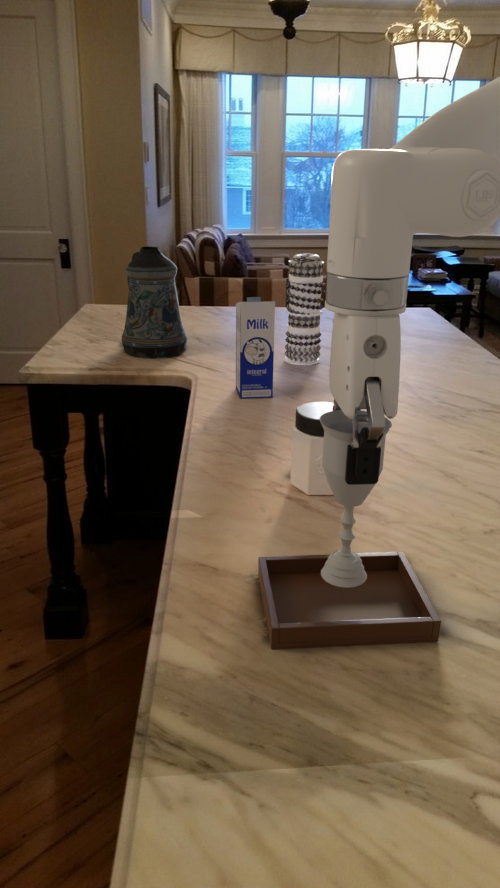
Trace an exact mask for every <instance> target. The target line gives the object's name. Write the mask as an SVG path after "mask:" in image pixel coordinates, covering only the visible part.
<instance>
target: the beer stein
mask: <svg viewBox="0 0 500 888" xmlns="http://www.w3.org/2000/svg"><path fill="white" fill-rule="evenodd" d="M125 271H126V275H127V277H126V279H127V286H128V287H127V288H128V294H127V303H126V315H125V323H124V328H123V332H122V334H121V343H122V348H123V351H124V354H126V355H128V356H131V357H133V356H135V357H134V358H139V357H142V358H141V359H165V358H164V357H168V358H172V357H171V356H173V357H177V356H181V355H182V354H183V353H185V352H186V351H187V343H188V339H189V337H188V334H187V332H186V329H185V326H184V323H183V320H182V315H181V314H182V313H181V310H180V303H179V298H178V291H177V286H176V276H177V274H178V267H177V265H176V264H175V262H173V261H172V260H171V259H170V258H168V257H167V256H166V255H165V254H163V252H161V251H160V247H158V246H141V247H140V250H139V251H136V252H134V253H132V255H131V261H130V262H129V263H128V265H127V266H126V268H125ZM176 355H177V356H176Z"/></svg>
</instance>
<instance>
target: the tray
mask: <svg viewBox="0 0 500 888" xmlns="http://www.w3.org/2000/svg"><path fill="white" fill-rule="evenodd" d="M355 553H356V552H355ZM331 554H332V553H330V554H329V553H328V554H304V555H303V554H302V555H301V554H300V555H275V556H272V555H271V556H258V561H257V562H258V564H257V577H258V582H259V588H260V593H261V599H262V605H263V610H264V611H263V612H264V616H265V622H266V628H267V633H268V639H269V640H268V641H269V644H270V645H269V646H270V649H271V650H278V649H279V650H280V649H300V648H303V649H304V648H321V647H322V648H323V647H341V646H342V647H343V646H344V647H345V646H347V647H348V646H363V645H364V646H366V645H386V644H387V645H388V644H406V643H408V644H411V643H429V642H439V638H440V632H441V625H442V620H441V617H440V616H439V615H438V612H437V610H436V609H435V607H434V605H433V603H432V601H431V600H430V598H429V596H428V594H427V592H426V591H425V589H424V587H423V585H422V584H421V582H420V580H419V578H418V576H417V574H416V572H415V571H414V569H413V567H412V565H411V563H410V561H409V560H408V557H407V556H406V554H405V552H404V551H386V552H359V553H358V552H357V553H356V554H357V555H358V556H359V557H360V558H361V560H362V564H363V566H364V570H365V572H366V574H367V579H366V581H365V582H364V583H363V584H361V585H359V586H356V587H348V588H346V587H338V586H335V585H332V584H330V583H328V582H326V581H325V580H324V579H323V578H322V576H321V570H322V568H323V567H324V566H325V563H326V561H327V560H328V557H329V556H330V555H331Z"/></svg>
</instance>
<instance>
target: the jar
mask: <svg viewBox="0 0 500 888" xmlns="http://www.w3.org/2000/svg"><path fill="white" fill-rule="evenodd" d="M333 403H334V402H329V401H311V402H306V403H303V404H300V405H299V406H297V407H296V409H295V423H294V426H293V427H292V428H291V429H292V430H291V455H290V476H289V478H290V479H289V480H290V482H289V483H290V485H292V486H293V487H295V488H296V489H298V490H299V491H301V492H302V493H303V494H305V495H307V496H334V495H333V492H332V490H331V488H330V486H329V484H328V481H327V478H326V475H325V472H324V468H323V445H324V429H323V427H322V425H321V422H320V417H321V416H322V415H323V414H325V413H327V412H330V411H333Z"/></svg>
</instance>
